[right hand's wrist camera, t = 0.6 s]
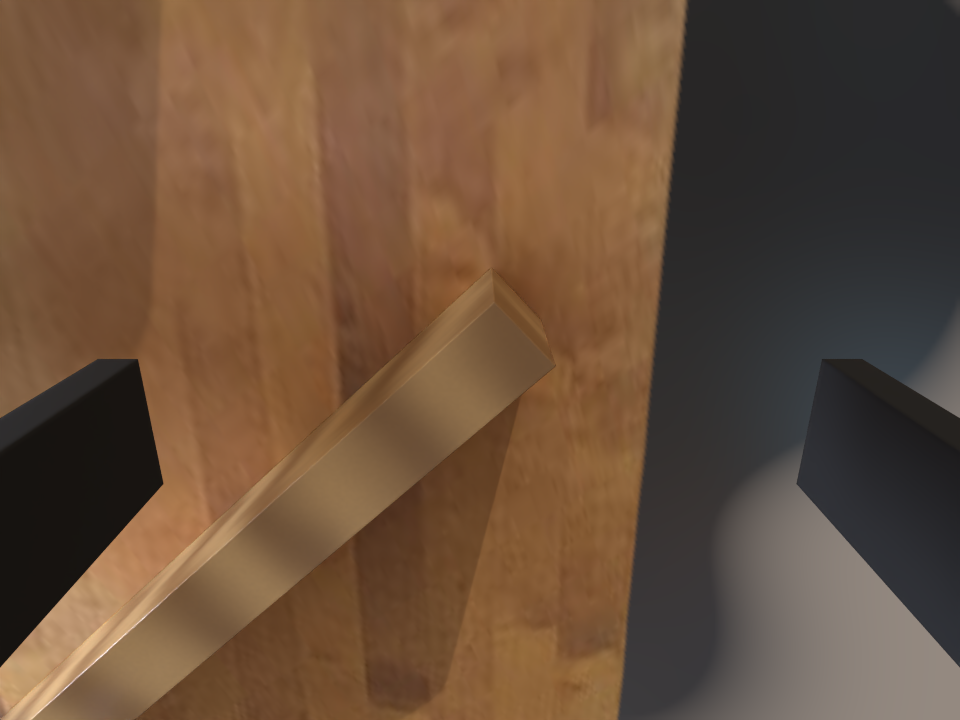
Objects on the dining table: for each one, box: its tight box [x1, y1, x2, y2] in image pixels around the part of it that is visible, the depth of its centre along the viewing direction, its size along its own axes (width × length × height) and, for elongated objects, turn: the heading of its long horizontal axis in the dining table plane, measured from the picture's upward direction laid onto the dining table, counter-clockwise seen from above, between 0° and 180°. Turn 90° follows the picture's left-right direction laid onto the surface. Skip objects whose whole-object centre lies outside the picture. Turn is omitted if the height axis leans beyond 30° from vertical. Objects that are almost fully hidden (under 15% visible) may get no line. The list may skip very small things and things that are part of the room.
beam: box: [0, 268, 556, 720], centre depth 44 cm, size 72×5×8 cm, turn 133°
